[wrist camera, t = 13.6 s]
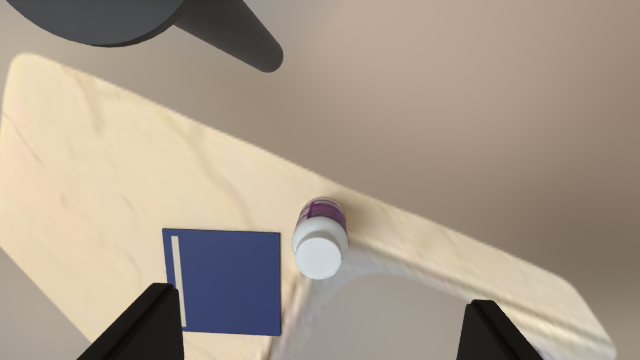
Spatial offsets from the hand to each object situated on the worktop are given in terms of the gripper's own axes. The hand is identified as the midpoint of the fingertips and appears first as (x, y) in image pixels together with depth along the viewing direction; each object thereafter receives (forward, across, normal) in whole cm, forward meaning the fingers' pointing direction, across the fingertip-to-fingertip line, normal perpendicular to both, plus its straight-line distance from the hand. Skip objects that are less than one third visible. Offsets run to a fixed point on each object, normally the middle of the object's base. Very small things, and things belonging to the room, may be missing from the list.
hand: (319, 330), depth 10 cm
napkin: (+25, +12, +15) cm, 31 cm away
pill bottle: (+25, 0, +6) cm, 25 cm away
